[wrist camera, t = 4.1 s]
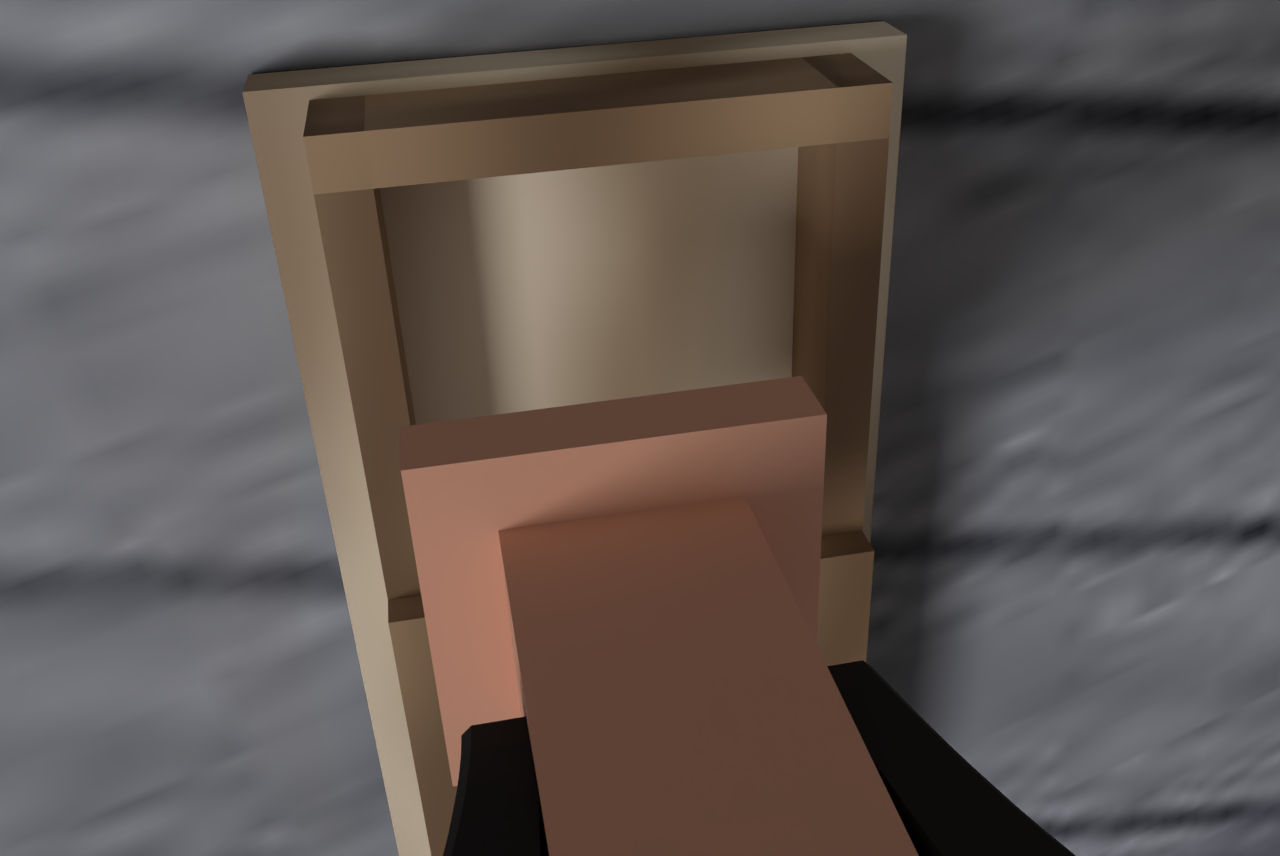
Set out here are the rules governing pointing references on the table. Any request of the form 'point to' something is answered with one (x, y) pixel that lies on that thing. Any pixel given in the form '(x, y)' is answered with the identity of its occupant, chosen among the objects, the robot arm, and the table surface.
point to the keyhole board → (575, 284)
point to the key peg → (648, 620)
